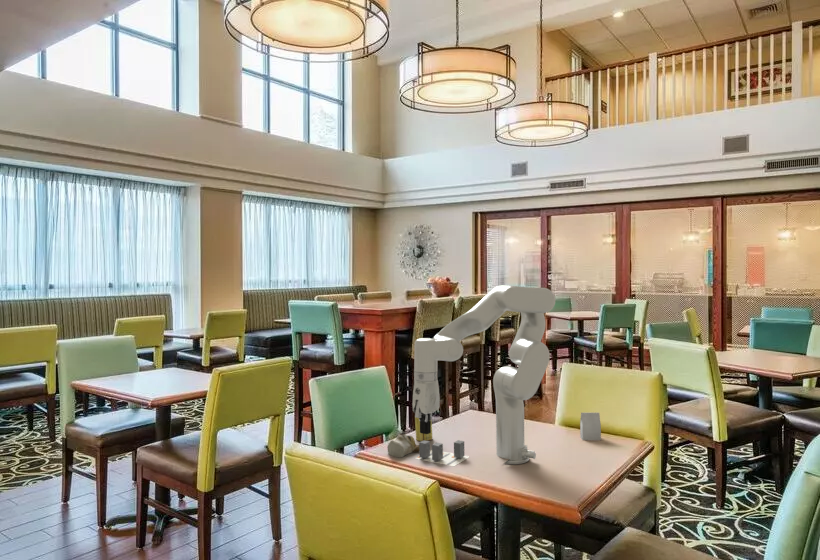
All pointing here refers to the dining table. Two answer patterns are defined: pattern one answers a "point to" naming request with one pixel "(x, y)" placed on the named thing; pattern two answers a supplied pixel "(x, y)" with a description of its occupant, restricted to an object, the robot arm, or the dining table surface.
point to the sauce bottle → (420, 435)
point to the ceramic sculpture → (402, 445)
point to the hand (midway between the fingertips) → (425, 432)
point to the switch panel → (445, 459)
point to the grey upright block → (590, 426)
